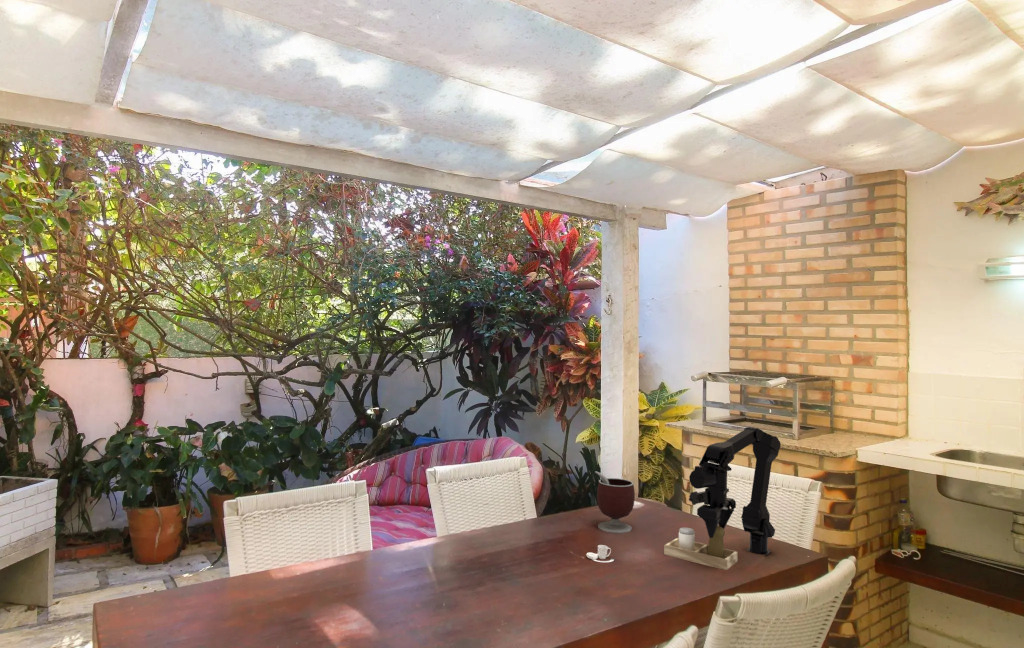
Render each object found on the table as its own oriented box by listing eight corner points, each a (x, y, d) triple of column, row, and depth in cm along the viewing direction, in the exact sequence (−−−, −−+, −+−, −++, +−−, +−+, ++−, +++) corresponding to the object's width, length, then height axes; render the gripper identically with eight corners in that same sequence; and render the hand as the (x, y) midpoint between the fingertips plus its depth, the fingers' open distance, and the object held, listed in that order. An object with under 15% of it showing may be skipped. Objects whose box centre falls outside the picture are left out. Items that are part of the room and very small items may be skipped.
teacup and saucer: (584, 560, 204) (584, 548, 204) (590, 553, 211) (591, 540, 211) (611, 565, 200) (611, 552, 200) (617, 557, 208) (617, 544, 208)
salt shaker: (681, 550, 213) (682, 526, 214) (696, 554, 210) (696, 529, 211) (675, 554, 210) (676, 529, 210) (690, 557, 206) (691, 533, 207)
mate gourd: (639, 527, 241) (640, 473, 241) (625, 536, 229) (626, 480, 229) (601, 519, 249) (603, 468, 249) (585, 528, 237) (587, 474, 238)
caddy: (677, 548, 217) (677, 537, 217) (737, 562, 205) (737, 551, 205) (664, 556, 209) (664, 545, 209) (726, 572, 197) (726, 560, 197)
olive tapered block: (726, 565, 201) (727, 530, 201) (706, 563, 202) (707, 528, 202) (724, 558, 206) (724, 524, 207) (704, 557, 208) (705, 523, 208)
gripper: (703, 476, 217) (702, 522, 216) (681, 485, 202) (680, 535, 202) (736, 482, 210) (735, 529, 210) (716, 492, 195) (715, 543, 195)
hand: (716, 534), depth 204 cm, fingers open, 9 cm apart
